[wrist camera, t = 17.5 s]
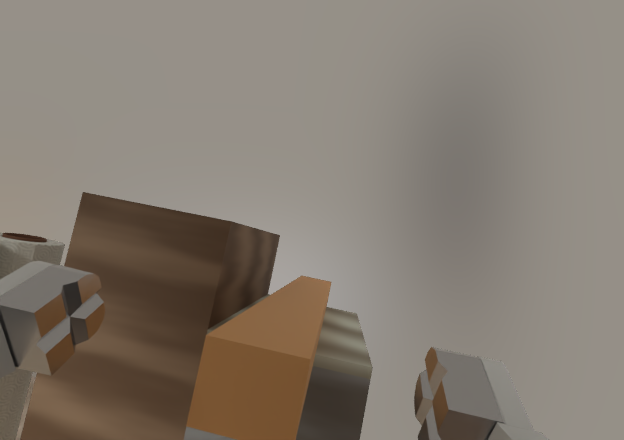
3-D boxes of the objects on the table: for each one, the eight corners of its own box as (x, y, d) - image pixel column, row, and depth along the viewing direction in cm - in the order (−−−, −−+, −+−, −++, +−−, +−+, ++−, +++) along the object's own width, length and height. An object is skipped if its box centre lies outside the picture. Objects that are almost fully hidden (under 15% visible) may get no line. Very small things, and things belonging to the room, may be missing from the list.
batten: (292, 453, 9) (310, 359, 9) (185, 426, 10) (205, 334, 10) (326, 307, 34) (331, 281, 34) (296, 300, 34) (301, 275, 35)
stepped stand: (295, 793, 16) (393, 253, 18) (-40, 675, 18) (82, 192, 20) (316, 527, 32) (367, 253, 34) (137, 477, 34) (195, 218, 36)
